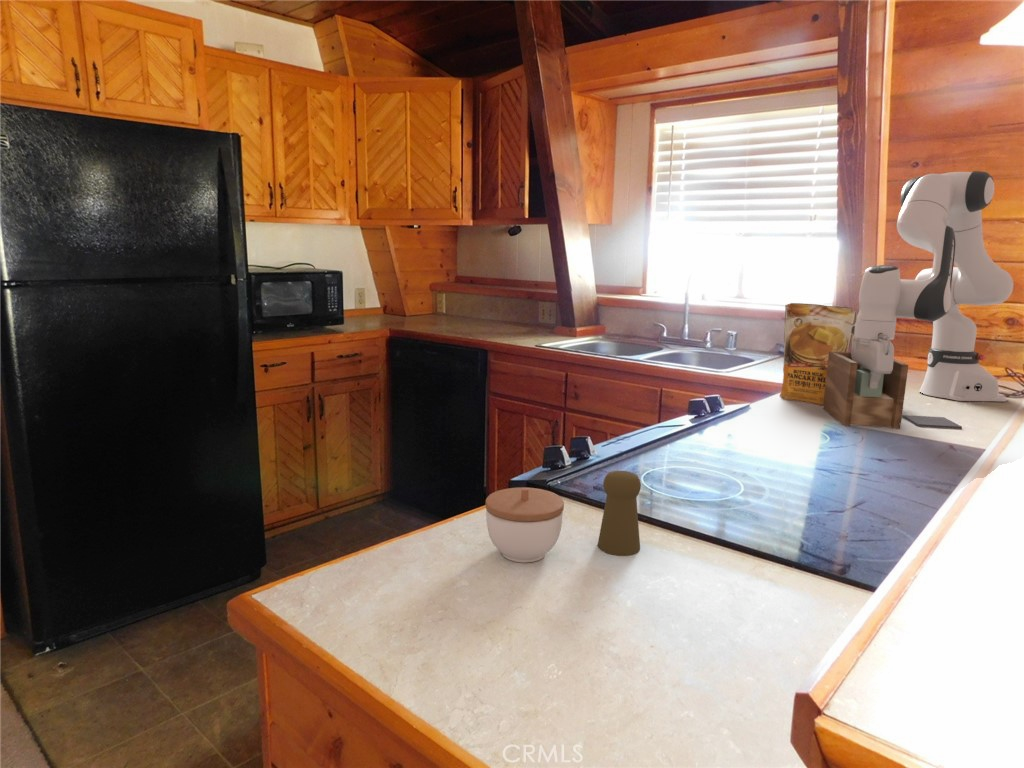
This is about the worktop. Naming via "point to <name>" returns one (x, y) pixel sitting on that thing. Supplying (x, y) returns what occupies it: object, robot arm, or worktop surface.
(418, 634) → the worktop surface
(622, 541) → the cork
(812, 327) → the pancake mix bag
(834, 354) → the bin
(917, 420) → the mat
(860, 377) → the block
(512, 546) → the lidded jar
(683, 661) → the worktop surface
